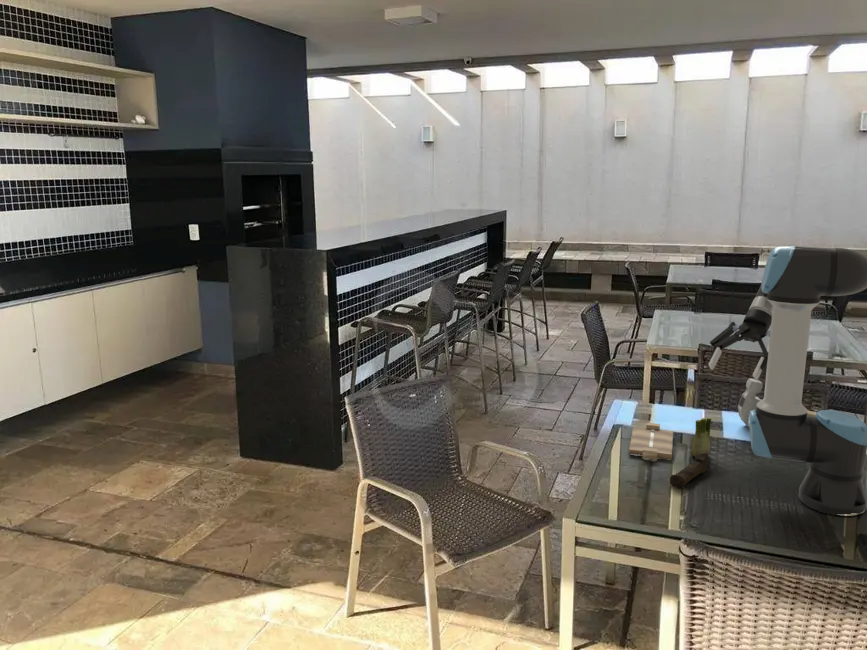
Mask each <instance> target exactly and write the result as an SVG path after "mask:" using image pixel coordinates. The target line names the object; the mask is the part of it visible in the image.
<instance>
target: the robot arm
mask: <svg viewBox="0 0 867 650" xmlns="http://www.w3.org/2000/svg"><path fill="white" fill-rule="evenodd" d="M764 266H765V267H764V270H763V276H762V279H761V282H760V283H761V284H760V286H759V289H758V291H757V293H756V295H755V297H754V299H753V300H752V302H751V305H750V306H749V308H748V311H747V312H746V314H745V317H744V318H743V321H742V323H741V324H737V323H735V321H732V322H730V323H729V325H728V326H727V327H726V328H725V329H724V330H722V332H720V333H719V334H718V335H716V336H715V337H714V338H712V340H710V341H709V344H710V346H711V347H712V351H711V353H710V360H709V362H708V364H707V365H708V367H709V369H710V370H712V371H713V370H714V369H715V367H716V365H717V363H718V362H719V359H720V357H721V355H722V352H723V351H722V350H724V349H726V348H728V347H729V346H731V345H734V344H735V343H737V342H741V341H743V340H744V341H745V342H747V341H748V342H752V343H756V342H757V343H758V345H759V347H760V349H761V352H762V354H763V356H761V357H760V359H759V361H758V363H757V365H756V366H755V369H754V371H753V372H752V377H753V379H755V380H759V378H760V376H761V374H762V372H763V371H766V373H765V384H764V394H763V399H762V398H761V401H759V402H758V403H757V407H756V411H755V410H752V411H750V412H749V426H750V428H749V437H750V444H751V450H752V453H753V454H755V456H758V457H762V458H763V457H764V458H768V459H771V460H773V459H776V460H783V461H785V460H786V461H791V462H792V461H793V462H798V463H799V462H801V463H810V464H809V469H808V471H807V473H806V475H805V477H804V478H803V480H802V482H801V483H800V485H799V489H798V499H799V501H800V502H801V503H802V504H804V505H805V506H806V507H808V508H810V509H811V510H814V509H815V510H814V511H816V510H817V512H819V513H822V512H823V513H822V514H825V513H827V514H826V515H829V514H833V515H832V516H834V515H837V514H851V513H860V512H863V511H864V510H865V509H866V510H867V494H866V491H865V486H864V482H863V475H864V470H865V463H866V458H867V424H866V423H865V422H864V421H863V420H861V419H859V418H857V417H856V416H854V415H851V414H849V413H845V412H841V411H838V410H833V409H824V410H823V409H822V410H821V409H820V410H818V411H817V414H816V415H815V416H816V417H811V416H807V410H808V409H807V408H806V406H804V405H803V403H802V400H803V390H804V382H805V374H806V373H805V370H806V365H807V364H806V362H807V355H808V344H809V336H810V325H811V317H812V310H813V309H814V308H815V307H817V306H818V305H820V302H821V296H823V297H824V296H826V297H827V296H828V297H840V296H841V297H843V296H849V295H854V294H857V293H860V292H863V291H865V290H866V289H867V255H865V254H863V253H862V252H860V251H856V250H853V249H849V248H843V247H826V246H825V247H822V246H821V247H820V246H819V247H818V246H798V245H790V246H789V245H786V246H785V245H783V246H776V247H773V248H772V249H771V251H770V252H769V254H768V257H767V259H766V264H765V265H764ZM769 329H770V330H769ZM767 336H768V338H769V343H768V344H769V345H768V350H767V348H766V345H765V343H764V341H763V338H765V337H767Z"/></svg>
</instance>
